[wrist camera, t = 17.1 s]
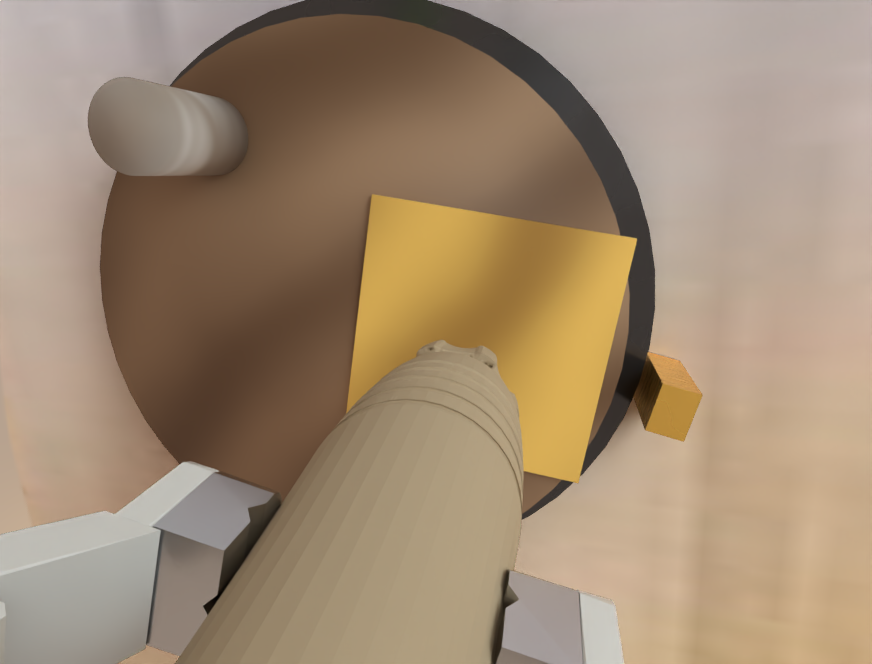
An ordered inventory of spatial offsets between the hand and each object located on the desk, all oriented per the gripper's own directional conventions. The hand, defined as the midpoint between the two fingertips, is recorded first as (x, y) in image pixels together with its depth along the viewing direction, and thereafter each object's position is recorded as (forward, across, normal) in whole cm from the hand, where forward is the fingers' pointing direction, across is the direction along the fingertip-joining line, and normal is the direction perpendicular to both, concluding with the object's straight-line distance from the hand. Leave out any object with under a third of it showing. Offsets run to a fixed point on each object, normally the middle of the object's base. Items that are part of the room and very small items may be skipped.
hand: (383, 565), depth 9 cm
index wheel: (+13, +4, 0) cm, 13 cm away
